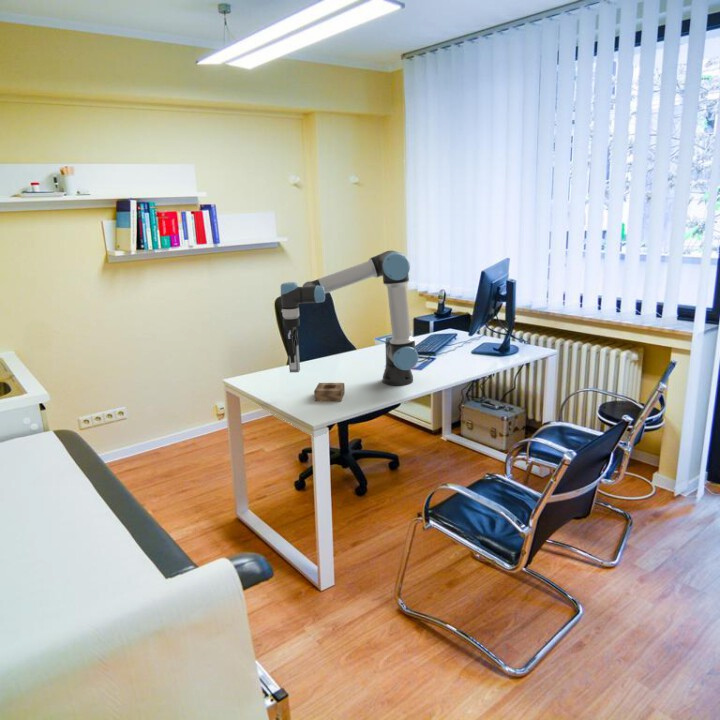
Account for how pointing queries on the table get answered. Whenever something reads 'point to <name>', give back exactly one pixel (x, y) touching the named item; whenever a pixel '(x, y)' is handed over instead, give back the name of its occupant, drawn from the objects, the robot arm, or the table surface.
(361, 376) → the table surface
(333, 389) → the brown square hole block
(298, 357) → the metal peg
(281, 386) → the table surface
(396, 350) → the robot arm
